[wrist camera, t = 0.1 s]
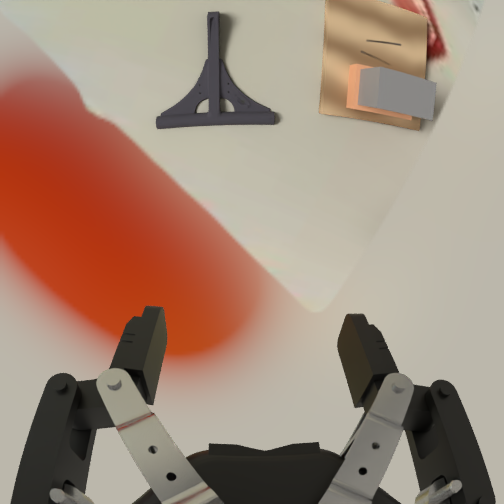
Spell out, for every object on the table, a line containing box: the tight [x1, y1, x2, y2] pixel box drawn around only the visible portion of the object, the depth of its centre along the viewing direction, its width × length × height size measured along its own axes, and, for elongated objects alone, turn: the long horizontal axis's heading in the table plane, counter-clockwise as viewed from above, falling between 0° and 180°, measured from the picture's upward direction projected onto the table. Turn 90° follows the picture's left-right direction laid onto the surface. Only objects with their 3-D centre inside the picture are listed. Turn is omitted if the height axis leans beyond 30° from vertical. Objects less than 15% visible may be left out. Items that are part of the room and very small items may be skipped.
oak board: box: [319, 0, 427, 131], centre depth 31 cm, size 17×14×2 cm
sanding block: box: [346, 64, 436, 121], centre depth 29 cm, size 6×8×8 cm
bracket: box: [156, 12, 275, 129], centre depth 32 cm, size 14×15×3 cm
